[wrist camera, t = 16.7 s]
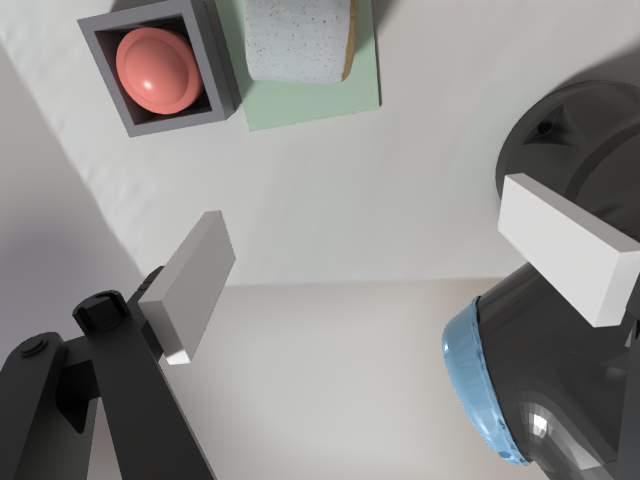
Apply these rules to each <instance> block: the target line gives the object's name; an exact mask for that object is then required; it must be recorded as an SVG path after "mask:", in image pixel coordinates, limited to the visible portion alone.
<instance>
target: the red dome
mask: <svg viewBox="0 0 640 480" xmlns="http://www.w3.org/2000/svg"><path fill="white" fill-rule="evenodd" d="M116 66H117V71H118V75H119V78H120V81H121V83H122V85H123V87H124V88H125V90H126V91H127V93H128V94H129V95H130V96H131V97H132V98H133V100H135V101H136V102H137V103H138V104H139V105H141V106H142V107H144V108H146V109H147V110H150V111H152V112H155V113H160V114H172V113H176V112H178V111H181V110H183V109H185V108H187V107H189V106H191V105H193V104H194V103H196V102H197V101H198V100H199V99H200V97H201V96H202V94H203V92H204V90H205V85H204V82H203V79H202V75H201V72H200V69H199V66H198V63H197V60H196V56H195V53H194V50H193V47H192V44H191V42H190V41H189V40H188V39H187V38H186V37H184V36H183V35H181V34H179V33H177V32H175V31H172V30H167V29H158V28H146V27H145V28H139V29H135V30H133V31H131V32H130V33H128V34H127V35H126V36H125V37H124V38H123V39H122V41H121V43H120V45H119V47H118V50H117V56H116Z"/></svg>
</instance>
